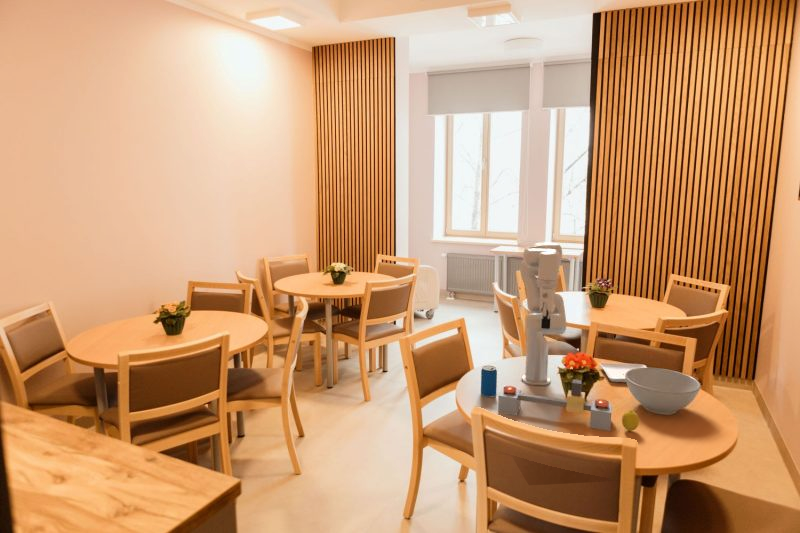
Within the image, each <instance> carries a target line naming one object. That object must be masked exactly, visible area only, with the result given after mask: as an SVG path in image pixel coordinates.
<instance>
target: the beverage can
mask: <svg viewBox="0 0 800 533" xmlns="http://www.w3.org/2000/svg"><path fill="white" fill-rule="evenodd" d="M497 370H498V369H497V368H496V366H493V365H484V366H482V367H481V371H480V372H481V374H480V394H481V395H482V396H483V397H485V398H493V397H495V396H497V387H498V386H497V385H498V384H497V382H498V371H497Z"/></svg>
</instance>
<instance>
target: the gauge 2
mask: <svg viewBox="0 0 800 533" xmlns="http://www.w3.org/2000/svg"><path fill="white" fill-rule="evenodd" d="M594 401H595V406H597V407H598V408H601V409H605V408H608V407H609V403H610V402H609V400H606V399H601V398H598V399H595V400H594Z"/></svg>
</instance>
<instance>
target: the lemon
mask: <svg viewBox="0 0 800 533" xmlns="http://www.w3.org/2000/svg"><path fill="white" fill-rule="evenodd" d="M621 418H622V420H621V422H622V426H623V428H624V429H626V430H627V431H628V432H631V431H632V432H633V431H634V430H636V429H637V428H638V427H639V422H640V420H639V416H638V414H637V413H636V412H635V411H633V410H632V409H630V410H627V411H625V412H624V413H623V415H622V417H621Z"/></svg>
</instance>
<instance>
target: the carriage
mask: <svg viewBox="0 0 800 533" xmlns="http://www.w3.org/2000/svg"><path fill="white" fill-rule="evenodd" d="M582 382H583V381H582V380H581V379H574V378H573V379H572V381H571V390H570V389H568V392H567V395H566V400H567V407H565V408H566V409H565V410H566V412H570V413H577V414H582V415H583V414H584V411H585V410H584V403H586V392H584V391H582V385H583V384H582Z"/></svg>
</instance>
